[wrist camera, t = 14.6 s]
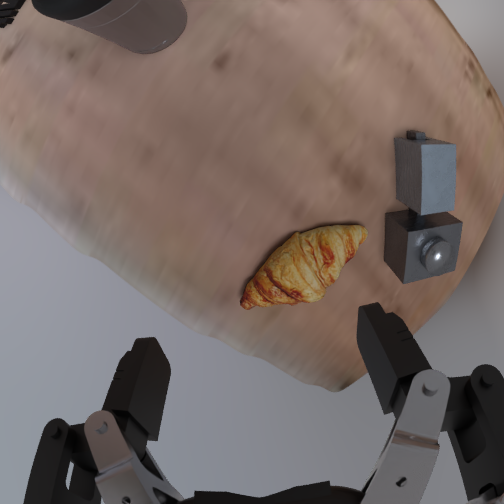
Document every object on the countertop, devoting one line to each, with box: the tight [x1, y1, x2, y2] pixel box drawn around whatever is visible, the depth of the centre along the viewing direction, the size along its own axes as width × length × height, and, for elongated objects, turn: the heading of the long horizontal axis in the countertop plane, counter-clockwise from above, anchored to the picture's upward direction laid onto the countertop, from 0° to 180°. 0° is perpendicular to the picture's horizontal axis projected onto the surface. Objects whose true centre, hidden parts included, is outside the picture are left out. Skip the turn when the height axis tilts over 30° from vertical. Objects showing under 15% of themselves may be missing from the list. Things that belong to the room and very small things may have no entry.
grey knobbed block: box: [384, 131, 463, 284], centre depth 33 cm, size 20×10×9 cm, turn 10°
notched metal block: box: [394, 137, 456, 215], centre depth 32 cm, size 9×6×7 cm, turn 10°
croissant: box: [240, 225, 368, 310], centre depth 39 cm, size 21×10×8 cm, turn 125°
